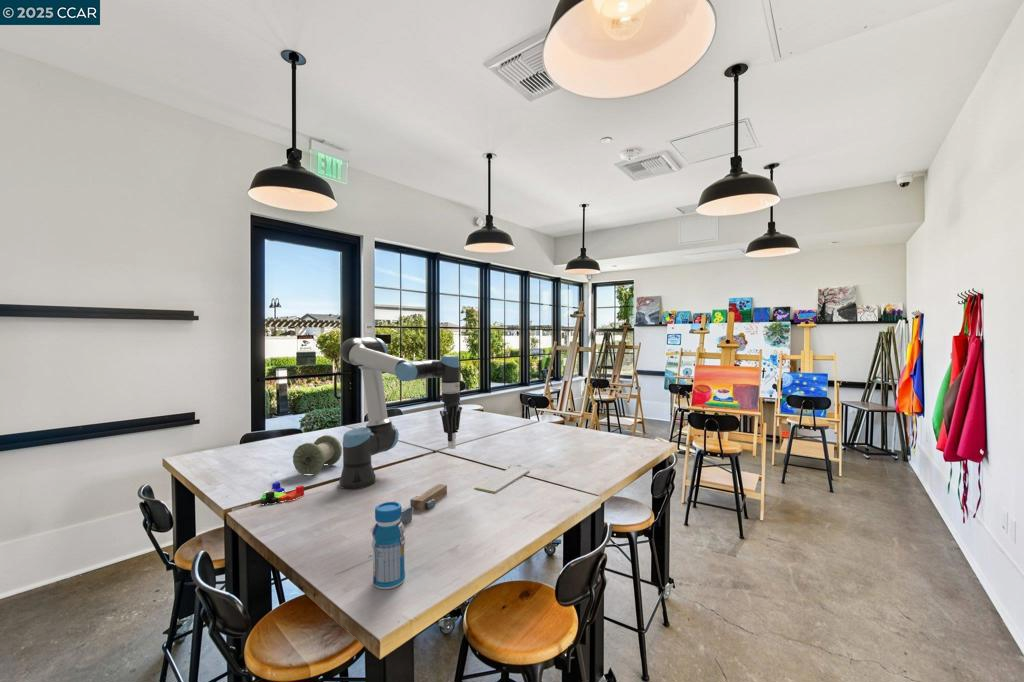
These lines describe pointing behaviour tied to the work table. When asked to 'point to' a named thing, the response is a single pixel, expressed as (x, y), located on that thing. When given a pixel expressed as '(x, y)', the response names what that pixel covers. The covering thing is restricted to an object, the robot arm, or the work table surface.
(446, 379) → the robot arm
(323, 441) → the spool
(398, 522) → the beverage bottle
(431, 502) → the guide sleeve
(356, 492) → the work table surface
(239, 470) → the work table surface
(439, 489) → the brown wooden bar
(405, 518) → the end cap
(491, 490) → the baseboard
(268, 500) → the building blocks
